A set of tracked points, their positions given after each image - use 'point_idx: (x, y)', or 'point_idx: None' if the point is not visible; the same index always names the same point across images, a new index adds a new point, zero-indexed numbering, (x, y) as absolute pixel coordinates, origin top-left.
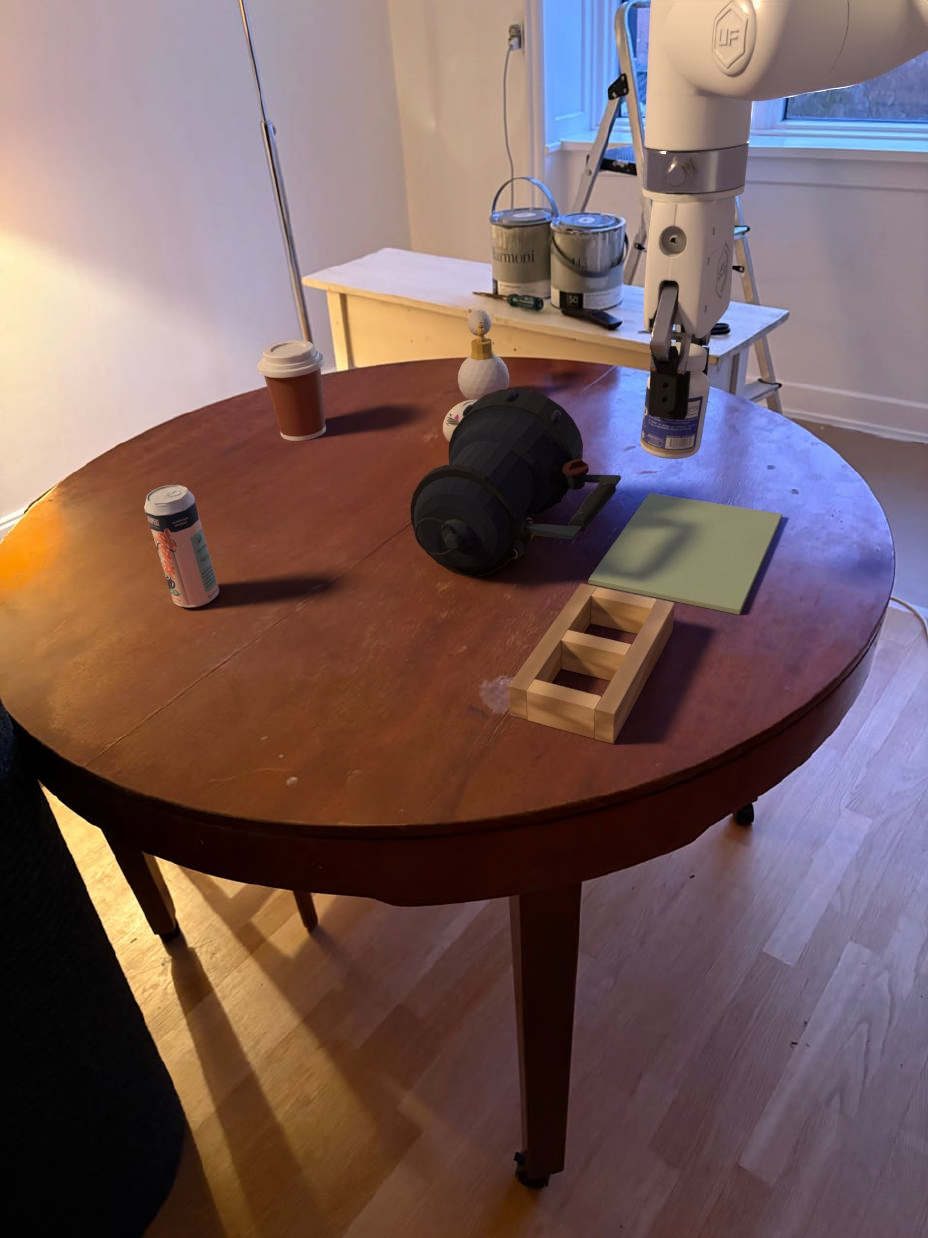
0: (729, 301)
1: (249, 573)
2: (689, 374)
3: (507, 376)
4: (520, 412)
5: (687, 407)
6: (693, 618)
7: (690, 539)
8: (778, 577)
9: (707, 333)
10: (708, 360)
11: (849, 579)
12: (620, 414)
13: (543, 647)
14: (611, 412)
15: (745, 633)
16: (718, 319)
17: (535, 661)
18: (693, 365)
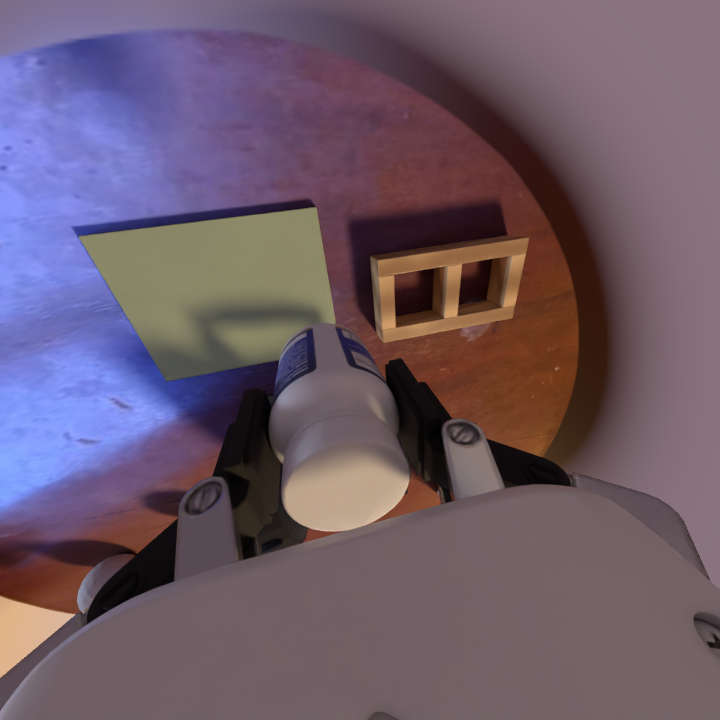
0: (61, 662)
1: (419, 488)
2: (434, 413)
3: (92, 578)
4: (285, 521)
5: (400, 367)
6: (342, 247)
7: (223, 306)
8: (221, 191)
9: (221, 513)
10: (231, 437)
11: (159, 92)
12: (21, 486)
13: (468, 321)
14: (27, 493)
15: (341, 189)
16: (348, 547)
17: (485, 317)
18: (384, 432)
